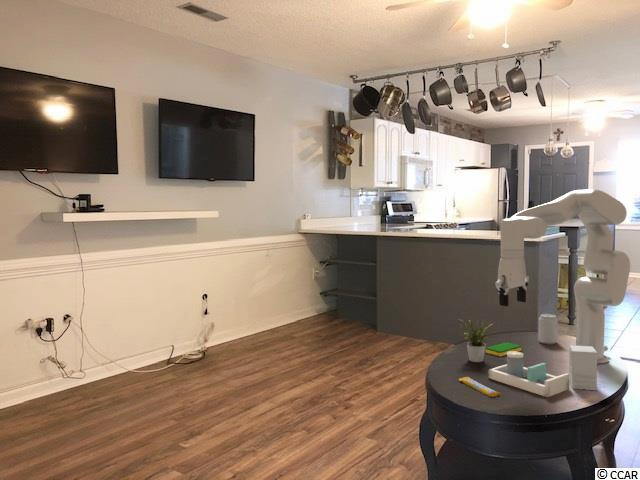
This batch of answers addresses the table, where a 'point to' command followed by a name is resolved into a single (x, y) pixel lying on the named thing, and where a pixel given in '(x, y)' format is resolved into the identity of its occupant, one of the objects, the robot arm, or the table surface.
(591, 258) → the robot arm
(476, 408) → the table surface
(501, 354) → the dish sponge
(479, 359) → the house plant
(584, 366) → the supplement box
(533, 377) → the pusher
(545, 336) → the can
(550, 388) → the frame
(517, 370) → the jar
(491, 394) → the candy bar
